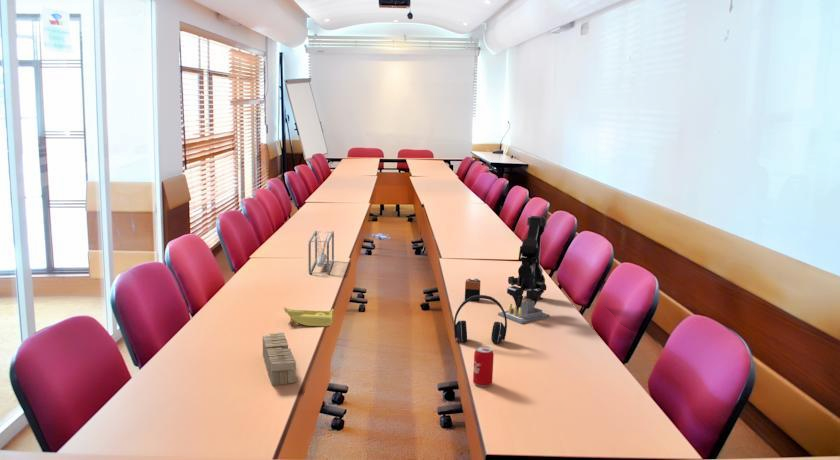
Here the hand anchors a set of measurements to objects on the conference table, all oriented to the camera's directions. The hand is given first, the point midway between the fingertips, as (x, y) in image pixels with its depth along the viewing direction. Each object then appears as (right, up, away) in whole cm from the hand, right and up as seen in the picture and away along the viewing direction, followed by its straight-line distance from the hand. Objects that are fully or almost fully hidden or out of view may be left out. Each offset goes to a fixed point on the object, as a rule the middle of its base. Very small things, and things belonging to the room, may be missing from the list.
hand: (525, 307), depth 286 cm
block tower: (-93, -14, -62) cm, 113 cm away
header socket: (0, -3, +1) cm, 4 cm away
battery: (-21, +1, +22) cm, 31 cm away
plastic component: (-91, -4, -15) cm, 92 cm away
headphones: (-23, -9, -32) cm, 40 cm away
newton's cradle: (-99, +13, +73) cm, 123 cm away
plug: (0, -2, +1) cm, 2 cm away
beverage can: (-25, -17, -70) cm, 76 cm away
